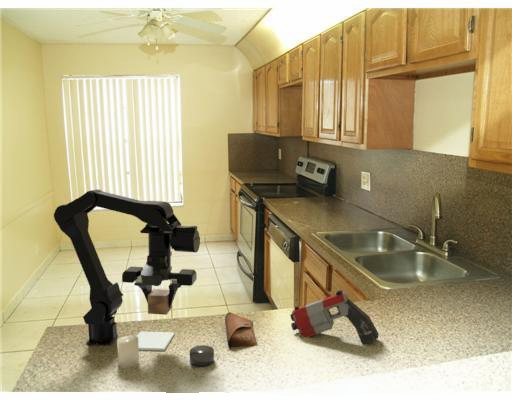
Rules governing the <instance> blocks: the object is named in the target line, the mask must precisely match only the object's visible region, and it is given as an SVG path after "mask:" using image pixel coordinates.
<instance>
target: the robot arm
mask: <svg viewBox="0 0 512 400" xmlns="http://www.w3.org/2000/svg"><path fill="white" fill-rule="evenodd" d="M96 207H97V208H102V209H105V210H109V211H113V212H116V213H121V214H126V215H130V216H133V217H135V218H137V219H139V220H140V221H141V222H143V223H145V226H144V227H143V228H142V229H141V230H140V231H139V232H140V233H141V234H147V236H148V238H147V239H148V240H147V241H148V255H147V256H146V263H145V265H144V266H130V267H128V268H127V269H125V270H124V271H123V272H122V274H121V282H123V283H129V284H132V283H133V285H134V286H135V287H136V286H137V287H139V288H140V290H141V291H142V292H143V295H144V298H145V300H146V303H147V304H148V295H149V294H150V293H151V292H152V291H153V287H159V286H161V284H162V283H163V282H165V281H171V283H169V285H168V290H169V300H168V304H169V308H170V307H171V305H172V306H173V302H174V300H175V297H176V295H177V291H178V289H179V288H181V287H182V286H186V287H187V286H188V287H190V286H193V285H194V283H195V282H196V281H197V276H198V274H197V271H196V270H195V269H190V268H188V269H187V268H186V269H185V268H182V269H181V270H180V271H178V272H172V270H173V268H172V266H171V265H172V262H171V261H172V259H171V258H172V256H173V255H172V254H173V253H172V252H173V251H172V250H174V252H181V253H182V252H183V253H198V251H199V250H200V249H199V248H200V245H201V236H200V233H199V230H198V226H197V225H187V226H186V225H182V223H181V222H180V221H179V219H178V217H177V216H176V215H175V214H174V210H173V209H174V208H173V207H172V205H171V204H170V203H169V202H168V201H163V200H162V201H160V200H138V199H135V198H132V197H131V198H130V197H128V196H124V195H118V194H114V193H110V192H106V191H102V190H101V189H92V190H88V191H86V192H85V193H84V194H82V195H81V196H78V198H75V199H74V200H72V201H70V202H68V203H66V204H62V205H59V206H57V207H56V209H55V211H54V213H53V218H54V221H55V222H56V224H57V226H58V228H59V229H60V231H62V233H63V234H64V235H66V236H67V237H68V238H69V240H70V241H71V244H72V247H73V249H74V251H75V253H76V256H77V259H78V261H79V264H80V266H81V268H82V270H83V272H84V276H85V278H86V281H87V283H88V286H89V297H88V298H89V303H90V309H89V310H88V311H87V312H86V313H85V314H84V315H83V316H82V317H83V322H84V323H85V325H87V327H88V340H87V341H86V342H85V343H86V345H92V346H93V345H95V346H96V345H97V346H98V345H99V346H103V345H104V346H109V345H111V344H112V342H113V341H115V339H116V338H117V337H118V335H119V334H118V332H117V331H118V327H117V322H116V320H115V319H116V317H115V316H114V315H116V314H117V311H118V310H119V309H120V308H121V306H122V304H123V300H124V299H123V296H124V294H123V293H122V291H121V289H120V284H119V282H114V283H112V282H111V281H110V280H109V279H108V277H107V275H106V272H105V269H104V267H103V265H102V262H101V260H100V257H99V255H98V252H97V249H96V248H95V245H94V243H93V240H92V238H91V236H90V233H89V232H90V231H89V222H90V219H89V216H88V214H89V213H91V211H93V210H94V209H96ZM171 249H172V250H171Z"/></svg>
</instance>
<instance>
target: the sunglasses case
mask: <svg viewBox="0 0 512 400" xmlns="http://www.w3.org/2000/svg"><path fill="white" fill-rule="evenodd" d="M224 322H225V331H226V332H225V333H226V339H227V340H226V341H227V345H228V347H229V348H230V349H233V348H236V349H237V348H246V347H247V348H248V347H250V348H251V347H257V346H258V342H257V337H256V335H255V331H254V328H253V320H251V319H248V318H246V317H243V316H239V315H238V314H235V313H233V312H231V311H229V312H226V314H225V316H224Z"/></svg>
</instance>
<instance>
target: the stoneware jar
mask: <svg viewBox="0 0 512 400" xmlns="http://www.w3.org/2000/svg"><path fill="white" fill-rule="evenodd" d="M136 336H137V335H124V336H122V337H120V338H119V337H118V339H117V340H116V343H117V347H116V348H117V364H118V367H119V368H121V369H122V368H123V369H129V368H130V369H131V368H134V367H136V366H138V365H139V363H140V352H139V351H140V350H139V345H138V337H136Z"/></svg>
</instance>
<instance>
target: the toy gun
mask: <svg viewBox="0 0 512 400" xmlns="http://www.w3.org/2000/svg"><path fill="white" fill-rule="evenodd" d="M334 308H336V309H337V311H336V312H335V313H331V311H330V309H334ZM289 316H290V319H291V321H292V323H290V325H291V329H292V330H293V331H296V330H298V334H299V336H300V337H301V338H308V337H309V338H310V337H313V336H315V335H318V334H321V333H323V332H327V331H330V330H332V329H333V326H334V323H335V321H334V320H336V319H339V318H342V317H345V318H347V319H348V320H349V321H350V323H351V324H352V326H353V327H354V328H355V330H356V333H357V334H358V338H359V340H360V342H361V344H369V343H373V342H375V341H376V340H377V339H379V335H380V334H379V332H378V330H377V328H376V327H375V324H374V323H373V321H372V319H371V317H370V315H368V314H367V313H366V312H365V311H364V310H362V308H360V307H359V306H357V304H356V303H354V302H353V301H352V300H351V299H350V298H349V295H348V293H347V292H346V291H343V290H342V289H340V290H338V291H335V294H333V295H331V296H329V297H325V298H322V299H319V300H317V301H314V302H311V303H308V304H306V305H305V304H304V305H302V306H300V305H297V306H295V307H294V309H293V310H291V313H290V315H289Z"/></svg>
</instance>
